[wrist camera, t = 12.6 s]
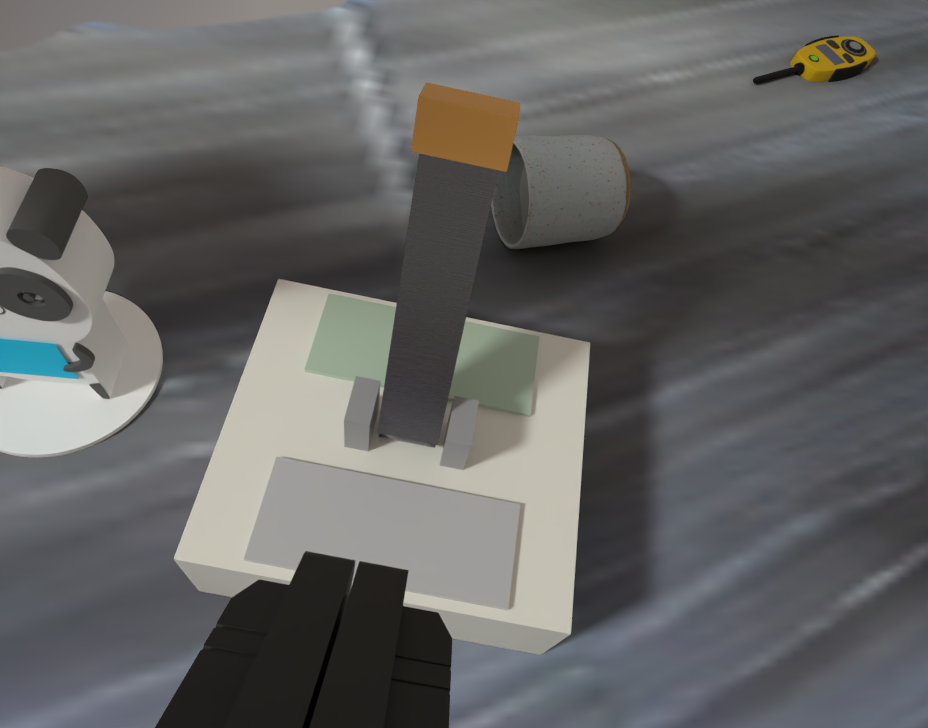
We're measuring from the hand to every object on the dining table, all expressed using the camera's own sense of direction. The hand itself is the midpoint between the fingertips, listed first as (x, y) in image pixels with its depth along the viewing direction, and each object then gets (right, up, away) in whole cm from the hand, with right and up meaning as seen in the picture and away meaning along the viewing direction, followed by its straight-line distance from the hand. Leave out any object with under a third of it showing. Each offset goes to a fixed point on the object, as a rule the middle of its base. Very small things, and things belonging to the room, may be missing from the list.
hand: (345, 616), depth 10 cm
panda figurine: (-22, +3, +31) cm, 39 cm away
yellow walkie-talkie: (+35, +32, +58) cm, 75 cm away
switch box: (-2, -3, +30) cm, 31 cm away
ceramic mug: (+7, +15, +43) cm, 46 cm away
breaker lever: (-1, 0, +24) cm, 25 cm away
